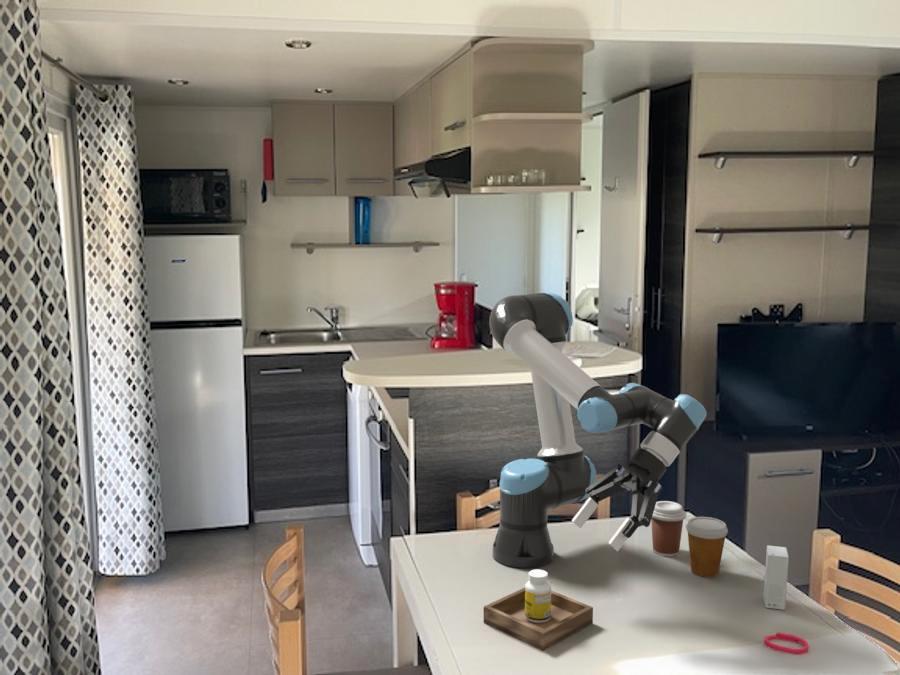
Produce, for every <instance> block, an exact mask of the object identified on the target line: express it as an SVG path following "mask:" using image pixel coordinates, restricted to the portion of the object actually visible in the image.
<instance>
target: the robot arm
mask: <svg viewBox="0 0 900 675" xmlns="http://www.w3.org/2000/svg"><path fill="white" fill-rule="evenodd" d="M573 321H574V320H573V312H572V309H571V306H570V305H569V303H568V302H567V300H565V299H564V298H563V297H562V296H561V295H559V294H557V293H551V292H549V293H548V292H539V293H538V292H537V293H529V294H519V295H517V294H516V295H515V294H514V295H509V296H506V297H503V298H502V299H500V300H499V301H498V302H496V304H495V305H494V306H493V308H492V310H490V316H489V322H488V325H489V330H490V333H491V335H492V337H493V339H494V340H495V341H496V343H497V344H498V345H499V346H500V347H501V349H503V350H504V351H505V352H506V353H508V354H510V355H513V354H514V355H516V356H517V357H518V358H519V359H521V360H522V361H523V362H524V364H526V365H527V366H528V367H529V368H530V371H531V372H530V374H531V379H532V380H531V381H532V388H533V394H534V402H535V406H536V408H535V409H536V413H537V422H538V428H539V434H540V441H541V449H540V450H539V451H538V453H537V458H530V457H529V458H526V459H524V458H519V459H515V460H513V461H510V462H507V464H505V465H504V466H503V467H502V469H501V472H500V480H499V497H500V498H499V526H498V529H497V533H496V536H495V538H494V541H493V543H492V558H493V559H494V560H495V561H496V562H498V563H499V564H502V565H504V566H509V567H513V568H519V569H520V568H522V569H533V568H538V567H543V566H546V565H548V564H550V563H551V562H552V561H553V560H554V558H555V556H554V554H555V548H554V545H553V543H552V539H551V536H550V532H549V528H548V512H549V511H551V510H555V509H557V508H561V507H564V506H569V505H576V504H577V503H579V502H581V501H584V500H585V501H584V502H583V503H582V504H581V506H580V509H579V511H578V512H576V514H575V515H574V516H573V518H572V519H571V521H572V523H574V524H575V525H576V526H577V527H578V529H582V528H583V526H584V525H585V524H586V522H587V521H588V520H589V518H590V517H591V516H592V515H593V513H594V512H595V510H596V509H597V508H598V507H599V504H600V502H601V501H603V500H605V499H607V498H610V497H612V496H614V495H616V494H618V493H620V492H622V493H624V492H626V493H627V494H628V493H629V494H631V495H632V500H631V510H630V511H631V513H630V515H629V516H628V517H626V519H625V520H624V521H623V523H622V524H621V525H620V527H619V528H618V529H617V531H615V533H614V534H613V536H612V537H611V538H610V540H609V541H608V542H607V543H608V545H609V546H611V548H613V549H614V550H615V551H617V552H619V551H620V549H621V548H622V546H624V544H625V542H626V541H627V540H628V539H629V538H631V537H632V536H633V534H634V533H635V532H636V531H637V529H638V528H639V527H640V528H641V527H642V526H643V527H645V528H649V526H650V524H651V523H652V521H651V519H652V515H653V512H654V508H655V505H656V502H658V497H659V496H660V494H661V492H662V490H663V486H662V485H661V484H660V483H659V481H660V480H661V478H662V477H663V476H664V474H665V473H666V471H667V467H670V466H671V465H672V463H673V462H674V461H675V459H676V458H677V457H678V455H679V454H680V452H681V451H682V450H683V449H684V447H685V446H686V444H688V442H689V440H690V439H691V438H692V437H693V436H694V434H696V432H697V431H698V430H699V428H700V427H701V425H702V424H703V422H704V421H705V419H706V417H707V415H708V414H707V410H706V408H705V407H704V405H703V404H702V403H701V402H699V401H698V400H697V399H696V398H694V397H692V396H691V395H688V394H684V393H680V394H679V395H678V396H677V397H675V398H674V399H673V400H672V398H671V399H670V398H667V397H666V396H663V395H662V394H660V393H658V392H656V391H654V390H652V389H650V388H648V387H647V386H644V385H642V384H638V383H636V382H629V383H627V384H626V385H625V386H623V387H622V388H621V389H620V390H619V392H618V393H614V394H613V393H612V394H611V393H610V392H609V391H607V389H605V388H604V387H603V386H601V385H600V384H599V383H598V382H596V380H594V379H593V378H592V377H591V376H590V375H589V374H587V373H586V372H585V371H584V370H583V369H582V368H580V366H578V365H577V364H576V363H575V362H574V361H572V360H571V359H570V357H568V356H566V355H565V354H564V353H563V349H564V347H565V346H566V345H567V343H568V342H567V335H568V334H569V332H571V330H572V328H571V327H572V326H573ZM571 406H572V407H573V408H574V409H576V410H577V419H578V422H579V423H580V426H581V427H582V429H583V430H585V432H587V433H590V434H599V433H608V432H610V431H613V430H618V429H623V428H627V427H632V426H635V425H640V424H641V425H642V424H643V425H646V426H647V427H649V428H651V431H650V432H649V433H648V434H647V436H646V437H645V438H644V439H643V440H642V442H641V443H640V447H639V448H636V450H635V451H634V453H633V454H632V455H631V457H630V458H629V460H628V461H629V465H628V466H627V467H626V468H624V466H623V465H622V464H620V463H617V464H616V465H615V466H614V467H613V468H612V469H611V470H610V471H609V472H606V473H605V475H602V477H600V478H598V480H597V471H596V467H595V465H594V463H593V462H591V459H590V458H589V457H588V456H586V455H584V449H583V447H582V446H580V445H579V444H578V443H577V442H576V436H575V430H574V423H573V418H572V416H573V415H572V410H571Z"/></svg>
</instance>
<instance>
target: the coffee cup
mask: <svg viewBox="0 0 900 675" xmlns="http://www.w3.org/2000/svg"><path fill="white" fill-rule="evenodd" d="M686 518H687V513H686V511H685V510H684V509H683V506H682V505H681V504H680V503H678V502H675V501H669V500H659V501H656V505H655V508H654V512H653V515H652V519H651V538H652V540H651V541H652V552H653V553H654V554H655V555H657V556H658V555H659V556H662V557H676V556H678V555H679V553H680V549H681V548H680V546H681V539H682V532H683V525H684V520H685V519H686Z"/></svg>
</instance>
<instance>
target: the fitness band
mask: <svg viewBox="0 0 900 675" xmlns="http://www.w3.org/2000/svg"><path fill="white" fill-rule="evenodd" d="M763 639H764V641H763V643H764V645H765V646H766V647H767V648H769V649H771V650H774V651H777V652H780V653H781V652H782V653H786V654H792V655H804V654H807V653H808V652H809V647H810V646H809V643H808V641H807V640H805V639H804V638H802V637H800V636H797V635H794V634H790V633H785V632H781V631H775V633H774V634H770V635H766V636H765V637H764V638H763ZM771 640H781V641H787V642H792V643H796V644H798V643H800V644H802V645H803V647H801V648H793V647H788V646H783V645H779V644H775V643H773V642H771Z"/></svg>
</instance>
